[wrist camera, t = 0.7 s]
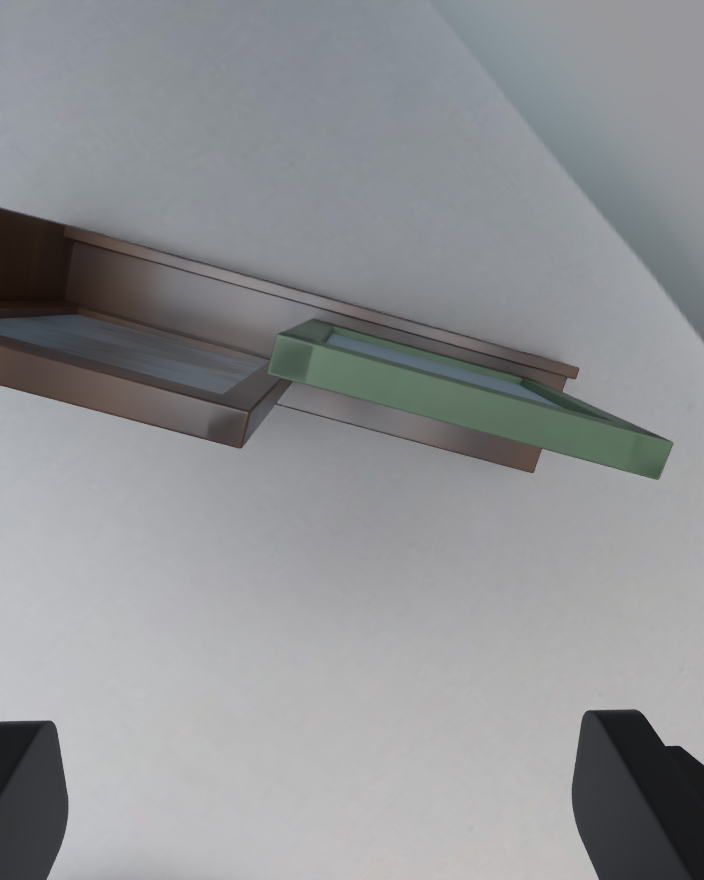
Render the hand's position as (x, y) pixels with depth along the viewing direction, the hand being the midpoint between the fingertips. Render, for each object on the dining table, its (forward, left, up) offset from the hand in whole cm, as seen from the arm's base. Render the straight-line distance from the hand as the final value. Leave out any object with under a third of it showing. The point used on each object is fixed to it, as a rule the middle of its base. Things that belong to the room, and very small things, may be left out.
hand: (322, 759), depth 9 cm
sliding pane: (-1, +5, -24) cm, 24 cm away
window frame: (-5, 0, -25) cm, 26 cm away
